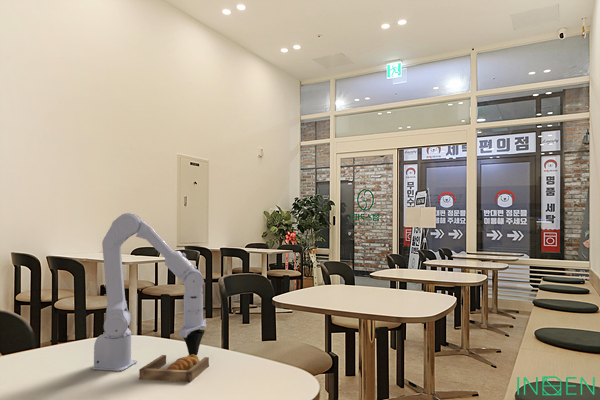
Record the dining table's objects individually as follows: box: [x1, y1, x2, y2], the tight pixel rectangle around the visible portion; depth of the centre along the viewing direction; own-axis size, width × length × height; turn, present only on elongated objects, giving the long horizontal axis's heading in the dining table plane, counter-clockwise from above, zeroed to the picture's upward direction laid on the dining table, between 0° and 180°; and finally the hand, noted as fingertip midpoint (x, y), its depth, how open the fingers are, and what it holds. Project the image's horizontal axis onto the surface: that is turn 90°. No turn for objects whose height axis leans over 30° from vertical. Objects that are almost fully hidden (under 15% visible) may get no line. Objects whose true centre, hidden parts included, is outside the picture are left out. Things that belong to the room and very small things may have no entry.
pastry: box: [166, 354, 201, 371], centre depth 116 cm, size 9×7×4 cm
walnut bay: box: [138, 354, 210, 383], centre depth 115 cm, size 14×12×2 cm
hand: (193, 355), depth 126 cm, fingers closed
